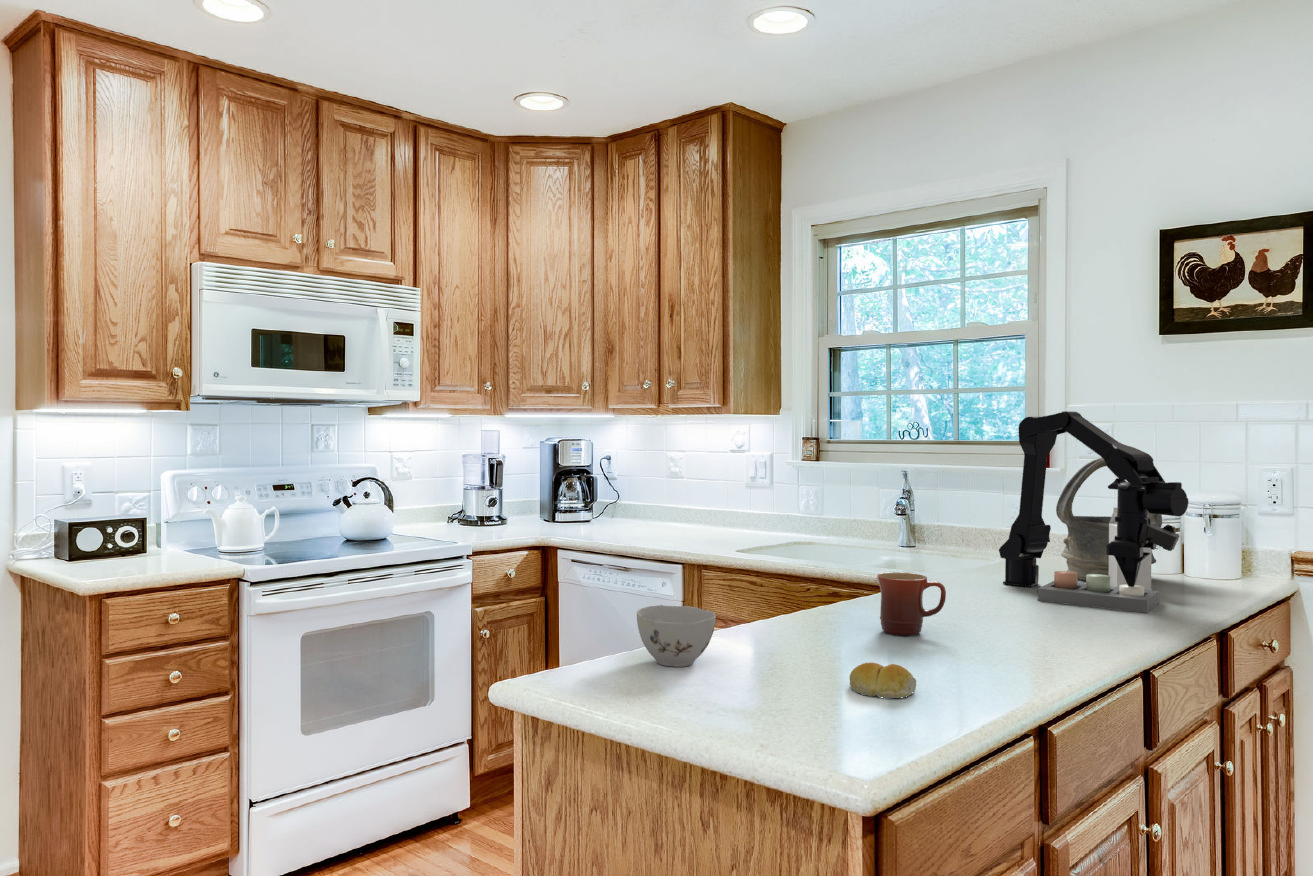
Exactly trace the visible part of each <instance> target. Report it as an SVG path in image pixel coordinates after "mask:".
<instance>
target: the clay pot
mask: <svg viewBox="0 0 1313 876" xmlns="http://www.w3.org/2000/svg"><path fill="white" fill-rule="evenodd" d="M1104 467H1107V466H1106V463H1105V461H1104V459H1103V458H1102V457H1099V458H1097V459H1093V460H1091V461H1090V462H1087V463H1086V464H1084V465H1083V466H1082V467H1081V468H1079V469H1078V470H1077V471H1076V472H1075V474H1074V475H1073V476H1072V477H1071V478H1070V479H1069V480H1068V482H1067V483H1066V485H1065V487H1064V488H1063V490H1062V491H1061V494H1060V496H1059V498H1058V499H1057V500H1058V501H1057V503H1056V507H1055V508H1056V509H1055V513H1056V516H1057V518H1058V519H1059V520H1060V522H1061V523H1063V524H1065V526H1066V527H1067V537H1066V538H1064V539H1063V544H1064V545H1065V547H1064V549H1063V551H1062V552H1061V554H1060V556H1061V557H1062V558H1063V559H1065V560H1066V566H1067V568H1068V569H1067V570H1066V571H1070V572H1076V573H1077V581H1078V580H1079V581H1084V582H1086V575H1087V574H1101V575H1108V572H1109V555H1106V546H1107V545H1108V544H1109V522H1110V520H1111V517H1112V516H1099V515H1096V516H1093V515H1090V516H1089V515H1074V514H1073V502H1074V500H1075V497H1076V495H1077V492H1078V491H1079V489H1080V488H1081V487H1082V485H1083V483H1085V481H1086V480H1087V479H1088V478H1089V477H1090V476H1091V475H1092V474H1093V473H1094V472H1096V471H1097V470H1099V469H1101V468H1104ZM1142 487H1143V488H1144V486H1142ZM1148 517H1150V519H1151V524H1152V525H1154V526H1157V527H1160V528H1162V525H1163V515H1159V514H1151V513H1149V512H1148ZM1156 563H1157V559H1156V558H1155V557H1154V554H1153V552H1152V559H1151V565H1153V564H1156Z"/></svg>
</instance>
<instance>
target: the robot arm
mask: <svg viewBox="0 0 1313 876" xmlns="http://www.w3.org/2000/svg"><path fill="white" fill-rule="evenodd" d="M1017 429H1018V443H1019V445H1020V447H1021V450H1022V452H1023V453H1024V454H1023V456H1024V457H1023V466H1022V476H1021V477H1022V480H1021V488H1020V489H1021V490H1020V499H1019V501H1020V502H1019V511H1018V516H1017V517H1016V518H1015V520H1014V522H1013V523H1012V524H1011V527H1010V531H1009V535H1008V538H1007V540H1006V541H1005V542H1004V543H1003V544H1002V545H1001V546H1000V548H999V549H998V552H999V556H1000V558H1001V559H1004V560H1005V563H1004V564H1005V565H1004V566H1005V575H1004V576H1005V577H1004V578H1005V579H1004V581H1002V584H1003V585H1011V586H1012V585H1013V586H1020V587H1031V588H1032V587H1033V586H1036V585H1038V584H1039V576H1040V575H1039V574H1040V573H1039V572H1040V571H1039V568H1040V567H1039V565H1038V564H1037V559H1041V558H1042V556H1043V553H1044V550H1045V549H1046V548H1047V547H1048V543H1051V540H1050V534H1051V528H1052V527H1051V525H1050V524H1046V522H1045V520H1044V519H1043V506H1044V496H1045V485H1046V473H1047V461H1048V457H1049V454H1050V453H1051V451H1052V449H1053V448H1054V446H1055V444H1056V441H1057V437H1058V435H1063V434H1066V433H1068V434H1069V435H1071V436H1072V437H1073V438H1075V439H1076V440H1077V441H1078V442H1081V443H1082V444H1083V445H1084V446H1086V447H1087V448H1088V449H1090V450H1091V451H1092V452H1094V453H1095V454H1097V455H1098V456H1099V457H1100V458H1103V459H1104V461H1105V463H1106V466H1105V467H1107V468H1108V469H1109V471H1110V472H1112V473H1113V475H1114V476H1116V478H1115V479H1114V481H1113V482H1112V483H1110V484H1109V485H1107V489H1109V490H1116V491H1117V500H1116V501H1117V504H1116V508H1117V516H1116V517H1115V522H1117V536H1115V540H1114V541H1112V542H1110V543H1109V544H1108V545H1107V546H1106V555H1112V556H1114V557H1115V559H1116V561H1117V563H1118V565H1119V567H1120V569H1121V571H1122V573H1123V576H1124V578H1125V580H1126V582H1127V585H1128V586H1130V587H1134V586H1135V583H1136V579H1137V576H1138V572H1139V568H1140V565H1141V562H1142V560H1143V559H1145V558H1146V557H1147V556H1149V555H1150V554H1151V553H1147V552H1143V548H1151V549H1152V551H1154V550H1155V549H1157V546H1158V547H1160V548H1162V549H1163V550H1166V551H1168V552H1169V551H1170V552H1172V551H1173V550H1175V547H1176V546H1177V543H1178V541H1179V539H1180V534H1179V533H1176V526H1172V525H1171V524H1166V525H1165V526H1163V527H1161V528H1160V527H1157V526H1154V525H1152V524H1151V519H1150V517H1148V512H1149V513H1151V514H1159V515H1162V516H1171V517H1182V516H1184V514H1185V513H1186V512H1187V510H1188V506H1189V498H1188V496H1187V493H1186V490H1184V489H1183V488H1182V487H1183V486H1182V484H1183V483H1182V482H1181V481H1180V482H1179V481H1177V482H1176V481H1174V482H1171V481H1170V482H1166V481H1165V479H1164V478H1163V477H1162V475H1161V474H1160V472H1159V471H1158V469H1157V468H1156V466H1155V463H1154V459H1153V456H1151V455H1150V454H1149V453H1147V452H1145V451H1143V450H1140V449H1139V448H1136V447H1134V446H1133V447H1132V446H1130V445H1127V444H1124V443H1122V442H1119V441H1118V440H1116V439H1115V438H1114V437H1112V436H1111V435H1109V434H1108V433H1107V432H1105V431H1103V430H1102V429H1101V428H1099V427H1098V426H1096V425H1094V424H1093V423H1092V422H1091V421H1089V420H1088V419H1086V418H1085V417H1083V416H1082V415H1081V413H1080V412H1078V411H1071V410H1070V411H1068V410H1067V411H1060V412H1057V413H1054V414H1050V415H1044V416H1026V417H1023V419H1022V420H1021V421H1020V422H1019V424H1018V428H1017ZM1142 486H1144V488H1143V487H1142Z"/></svg>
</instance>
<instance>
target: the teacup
mask: <svg viewBox="0 0 1313 876" xmlns="http://www.w3.org/2000/svg"><path fill="white" fill-rule="evenodd" d="M716 618H717V614H716V613H715V612H714V611H712V610H709V609H706V610H703V609H702V608H700V607H695V606H690V605H689V606H688V605H679V606H678V605H662V604H658V605H650V606H646V607H642V608H638V610H637V611H636V623H637V629H638V633H639V636H640V639H641V641H642V643H643V645H644V648H646V650H647V652H648V653H649V654H650V655H651V656H652V658H654V660H655V661H656V663H657V664H659V665H661V666H665V667H675V668H685V667H689V666H692V665H694V664H695V661H696V660H697V659H699V657H700V656H702V655H703V653H704V652H705V650H706V649H707V647H708V646H709V644H710V642H711V639H712V637H713V634H714V632H715V631H714V630H715V627H716V620H717V619H716Z"/></svg>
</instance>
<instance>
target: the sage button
mask: <svg viewBox="0 0 1313 876" xmlns="http://www.w3.org/2000/svg"><path fill="white" fill-rule="evenodd" d="M1085 584H1086V589H1087V590H1090V591H1098V592H1108V591H1110V576H1108V575H1101V574H1087V575H1086V581H1085Z"/></svg>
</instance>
